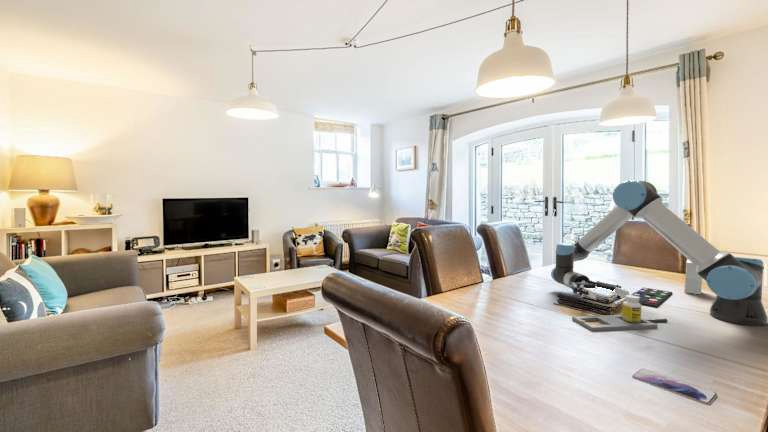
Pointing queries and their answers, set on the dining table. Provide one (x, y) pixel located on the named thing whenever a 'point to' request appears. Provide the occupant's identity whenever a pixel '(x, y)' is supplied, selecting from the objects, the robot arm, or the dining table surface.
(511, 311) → the dining table surface
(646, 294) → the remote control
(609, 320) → the socket strip
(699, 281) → the skincare box
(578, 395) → the dining table surface
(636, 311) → the supplement bottle
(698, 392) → the smartphone
